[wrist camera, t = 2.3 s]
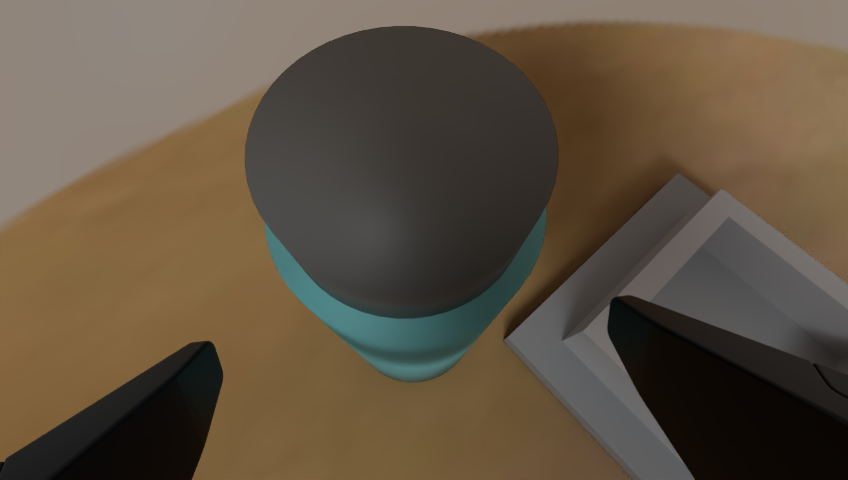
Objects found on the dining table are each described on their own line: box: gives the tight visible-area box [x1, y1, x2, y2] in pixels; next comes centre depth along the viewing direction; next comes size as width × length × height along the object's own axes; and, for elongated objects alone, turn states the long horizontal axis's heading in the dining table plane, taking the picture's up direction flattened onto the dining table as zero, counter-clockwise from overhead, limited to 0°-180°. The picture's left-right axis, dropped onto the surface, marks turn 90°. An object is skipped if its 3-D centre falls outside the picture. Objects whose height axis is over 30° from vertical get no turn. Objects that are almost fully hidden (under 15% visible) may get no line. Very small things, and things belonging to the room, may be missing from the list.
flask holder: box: [503, 173, 848, 480], centre depth 17 cm, size 13×13×4 cm
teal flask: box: [245, 26, 558, 382], centre depth 13 cm, size 6×6×14 cm
